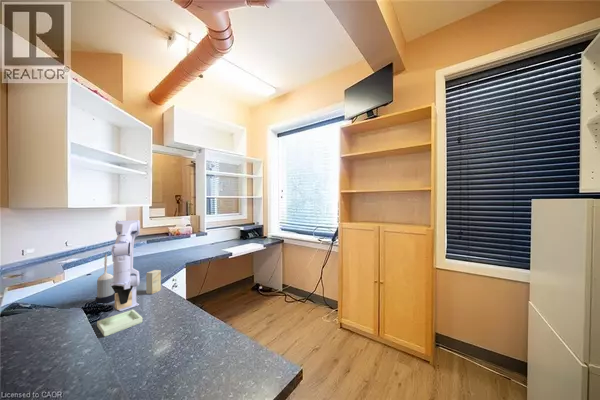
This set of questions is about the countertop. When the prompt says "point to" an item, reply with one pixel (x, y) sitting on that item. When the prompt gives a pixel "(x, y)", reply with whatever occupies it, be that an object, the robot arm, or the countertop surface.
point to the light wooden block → (153, 281)
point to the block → (120, 306)
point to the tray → (119, 322)
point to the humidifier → (105, 286)
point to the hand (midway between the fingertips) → (122, 302)
